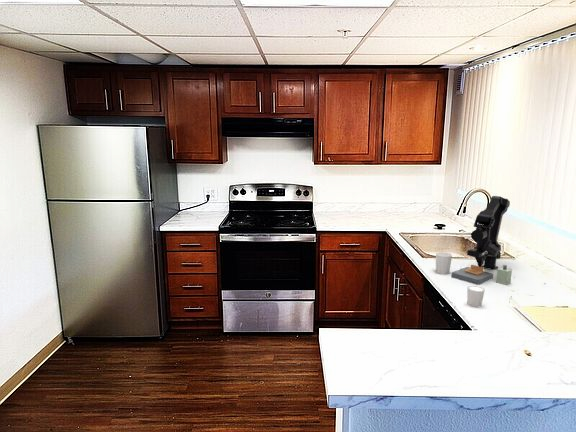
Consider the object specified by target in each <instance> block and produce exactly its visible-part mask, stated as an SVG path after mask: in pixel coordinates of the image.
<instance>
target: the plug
mask: <svg viewBox="0 0 576 432" xmlns="http://www.w3.org/2000/svg"><path fill="white" fill-rule="evenodd" d="M512 273H513V269H510V268H508V264H503V265H502V267H498V268H496V276H495V277H496V278H495V283H497V284H499V285H500V284H501V285H502V286H503V285H505V286H508V285H510V284H511V282H512Z"/></svg>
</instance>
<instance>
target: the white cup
mask: <svg viewBox="0 0 576 432" xmlns="http://www.w3.org/2000/svg"><path fill="white" fill-rule="evenodd" d="M452 256H453V254H452V253H449V252H444V251H438V252H435V272H436V273H438V274H440V275H441V274H442V275H449V274H450V269H451V264H452Z"/></svg>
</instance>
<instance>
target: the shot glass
mask: <svg viewBox="0 0 576 432" xmlns="http://www.w3.org/2000/svg"><path fill="white" fill-rule="evenodd" d="M466 289H467V290H466V291H467V292H466V293H467V297H466V298H467V303H466V304H468V305H469V306H472V307H477V308H478V307H481V306H482V304H483V300H484V296H485V289H484V288H483V287H481V286H478V285H469V286H467V288H466Z"/></svg>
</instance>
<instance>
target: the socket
mask: <svg viewBox="0 0 576 432" xmlns="http://www.w3.org/2000/svg"><path fill="white" fill-rule="evenodd" d="M469 268H471V266H466V267H463V268H460V269H457V270H454V271H452V272H451V276H450V277H451V278H453V279H457V280H460V281H463V282H467V283H470V284H474V285H475V286H479V285H482V284H484V283H486V282H489V281H491V280H494V273H491V272H489V271H485V270H484V273H482V274H479V275H476V274H472V273H469V272H465V270H467V269H469Z"/></svg>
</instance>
